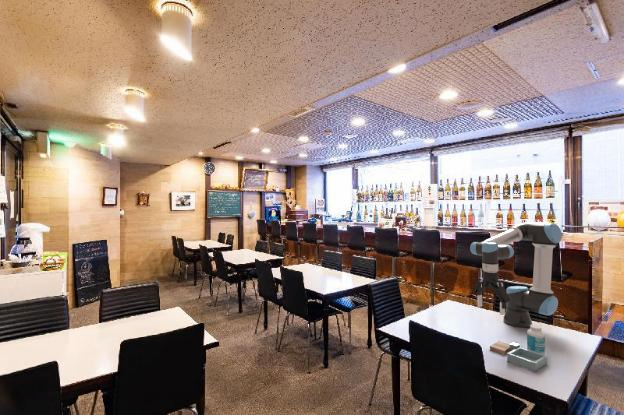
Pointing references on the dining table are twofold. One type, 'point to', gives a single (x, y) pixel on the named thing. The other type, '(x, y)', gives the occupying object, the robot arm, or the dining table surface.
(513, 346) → the bench dog
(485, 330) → the dining table surface
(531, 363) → the tray
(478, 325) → the dining table surface
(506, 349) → the flat wooden block
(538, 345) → the pill bottle
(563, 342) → the dining table surface
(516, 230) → the robot arm
